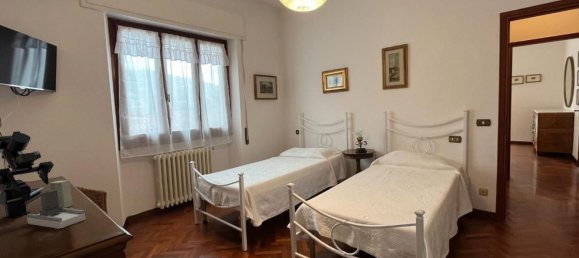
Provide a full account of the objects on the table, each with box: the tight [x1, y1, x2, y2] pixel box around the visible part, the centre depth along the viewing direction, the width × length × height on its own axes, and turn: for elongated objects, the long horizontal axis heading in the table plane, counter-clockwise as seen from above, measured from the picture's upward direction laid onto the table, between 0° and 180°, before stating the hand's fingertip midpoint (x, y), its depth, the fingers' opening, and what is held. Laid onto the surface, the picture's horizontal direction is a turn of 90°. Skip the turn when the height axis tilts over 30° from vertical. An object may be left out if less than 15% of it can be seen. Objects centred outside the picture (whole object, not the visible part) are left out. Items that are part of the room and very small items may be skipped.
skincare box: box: [49, 179, 74, 208], centre depth 127 cm, size 6×4×12 cm
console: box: [26, 207, 86, 230], centre depth 109 cm, size 20×9×4 cm, turn 69°
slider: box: [39, 189, 62, 216], centre depth 109 cm, size 5×5×9 cm
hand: (34, 186), depth 113 cm, fingers open, 9 cm apart
